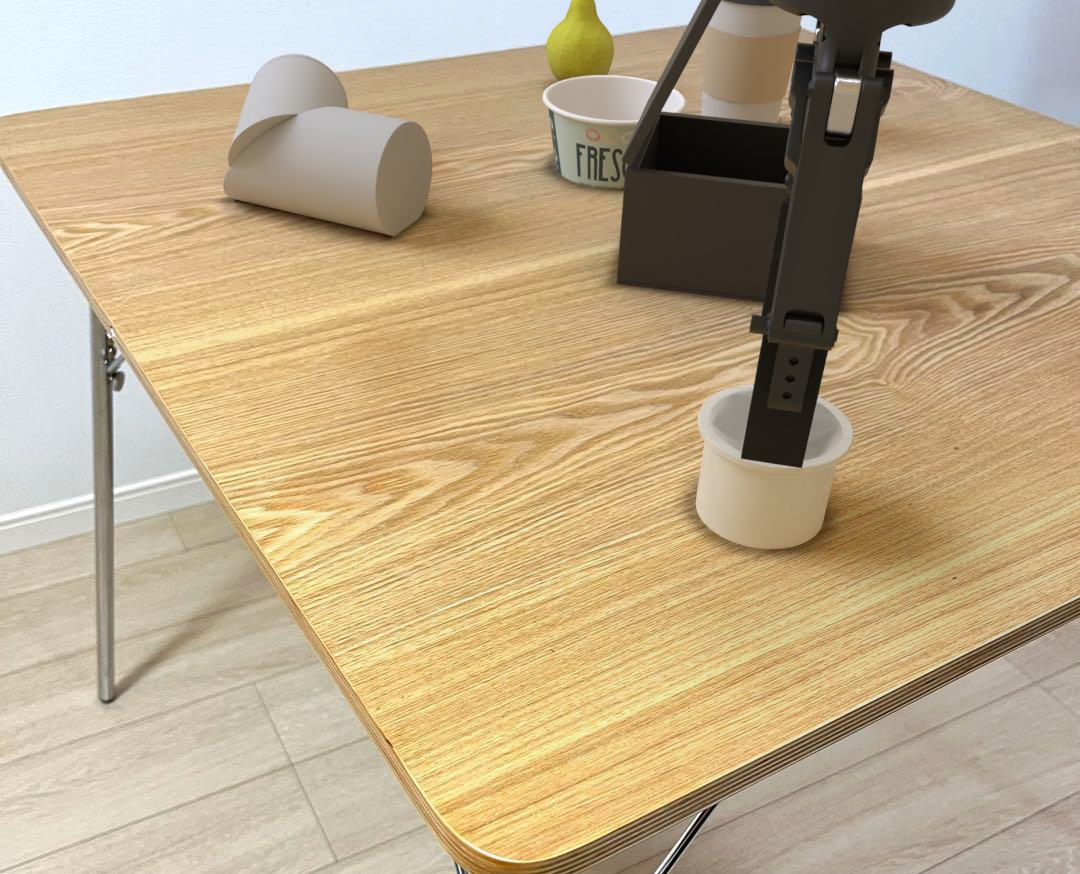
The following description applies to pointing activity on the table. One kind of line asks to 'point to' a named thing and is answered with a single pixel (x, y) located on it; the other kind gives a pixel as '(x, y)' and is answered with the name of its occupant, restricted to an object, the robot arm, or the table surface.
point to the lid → (670, 77)
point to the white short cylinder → (765, 475)
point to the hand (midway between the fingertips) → (779, 383)
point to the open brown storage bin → (704, 206)
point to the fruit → (580, 43)
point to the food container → (598, 124)
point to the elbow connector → (325, 152)
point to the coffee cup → (748, 60)
